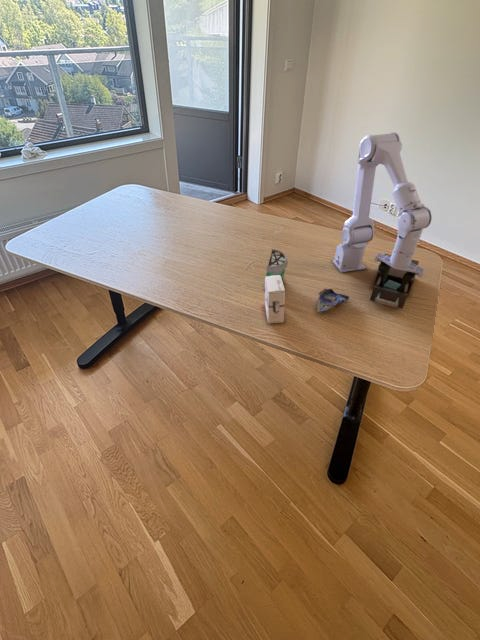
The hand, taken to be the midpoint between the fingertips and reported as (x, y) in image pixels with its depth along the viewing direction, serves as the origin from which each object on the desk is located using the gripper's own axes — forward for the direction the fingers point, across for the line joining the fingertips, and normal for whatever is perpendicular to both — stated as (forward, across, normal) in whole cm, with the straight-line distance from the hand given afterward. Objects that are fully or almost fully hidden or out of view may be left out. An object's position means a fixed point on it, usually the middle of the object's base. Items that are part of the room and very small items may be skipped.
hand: (391, 287), depth 109 cm
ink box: (+5, +23, +30) cm, 39 cm away
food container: (+5, +33, +16) cm, 37 cm away
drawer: (+4, 0, 0) cm, 4 cm away
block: (+3, 0, 0) cm, 3 cm away
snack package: (+5, +13, +14) cm, 20 cm away
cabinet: (+5, +2, -10) cm, 11 cm away
